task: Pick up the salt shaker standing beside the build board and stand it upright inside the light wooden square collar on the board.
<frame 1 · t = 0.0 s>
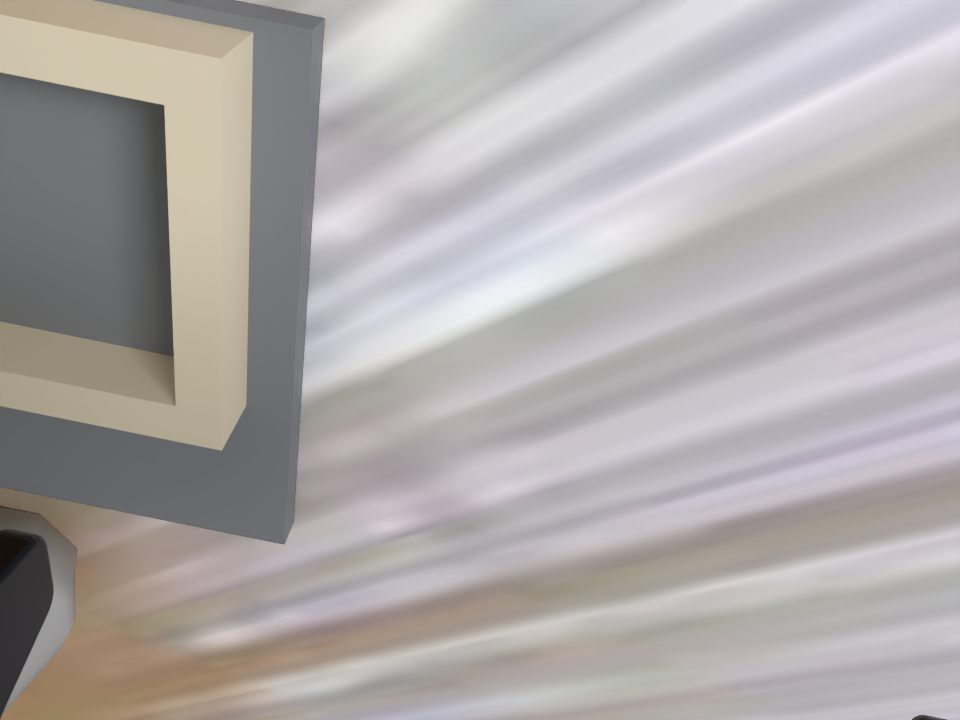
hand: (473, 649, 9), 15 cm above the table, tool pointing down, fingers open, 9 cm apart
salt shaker: (24, 544, 32), on the table
build board: (73, 269, 25), on the table
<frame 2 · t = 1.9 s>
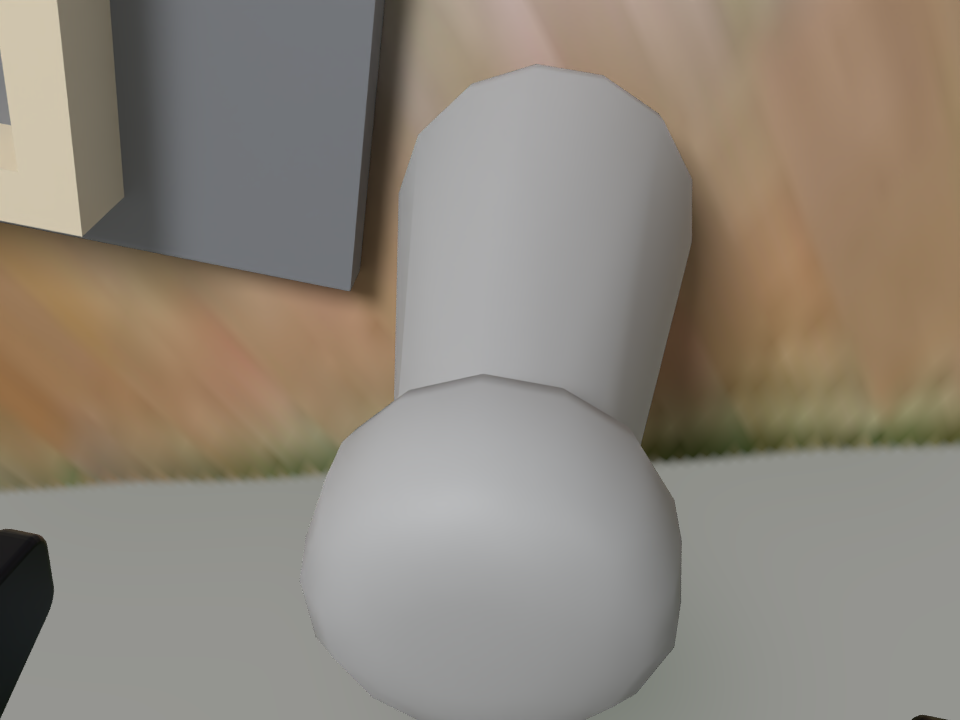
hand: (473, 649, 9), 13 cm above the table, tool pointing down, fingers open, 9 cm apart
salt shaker: (551, 165, 20), on the table
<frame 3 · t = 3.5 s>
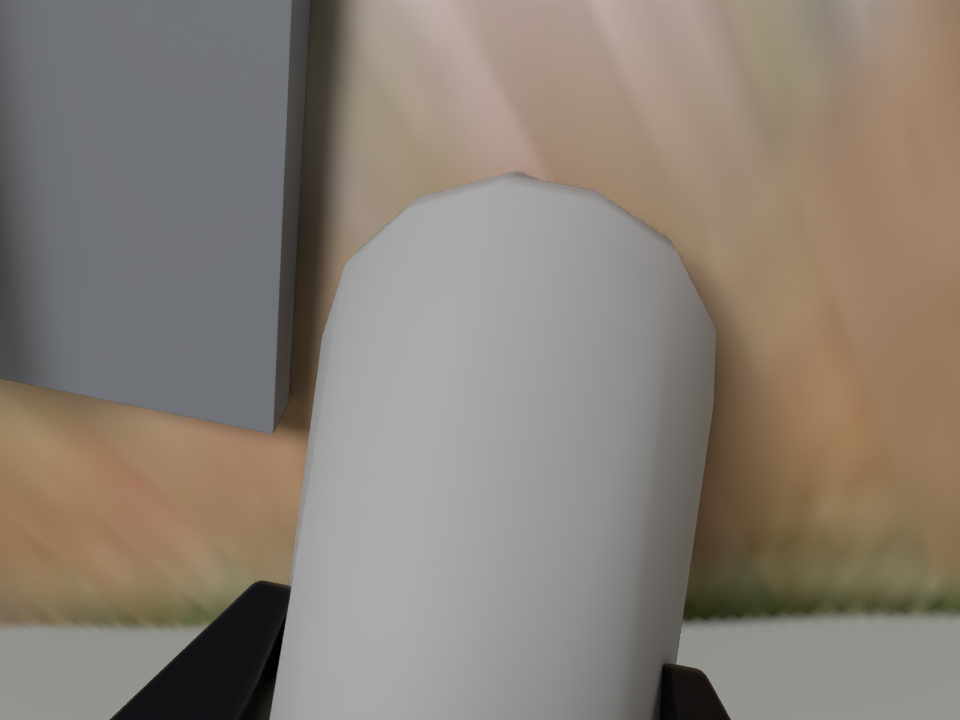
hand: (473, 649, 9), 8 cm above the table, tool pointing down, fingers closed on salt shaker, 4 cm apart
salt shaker: (528, 282, 16), on the table, touching gripper
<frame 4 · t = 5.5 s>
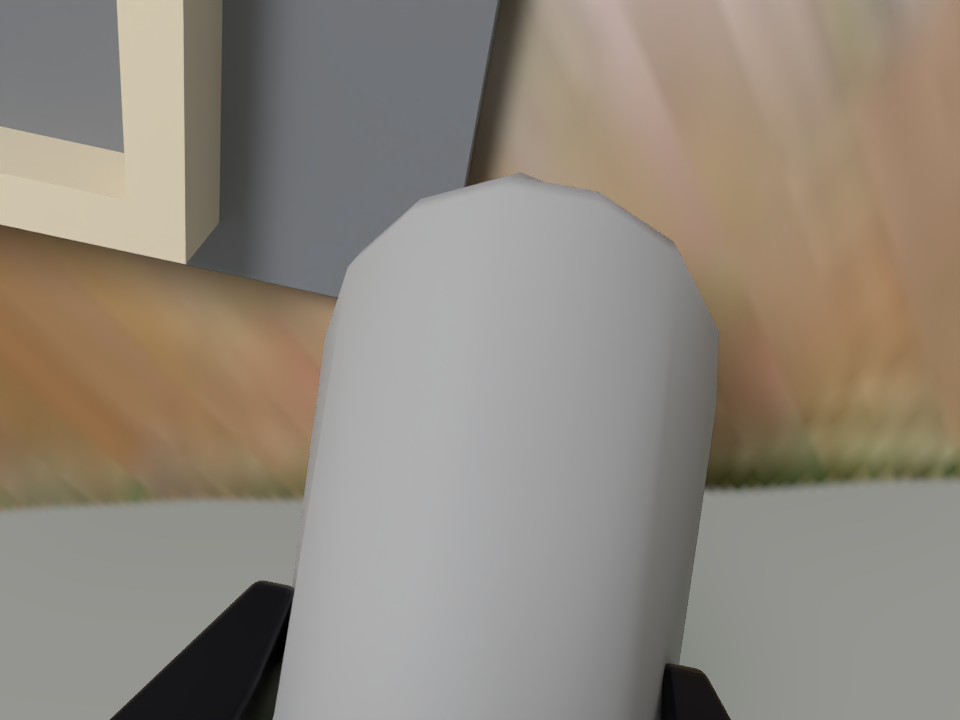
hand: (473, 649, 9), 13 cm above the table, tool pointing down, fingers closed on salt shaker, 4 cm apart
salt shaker: (531, 283, 16), point 5 cm above the table, touching gripper
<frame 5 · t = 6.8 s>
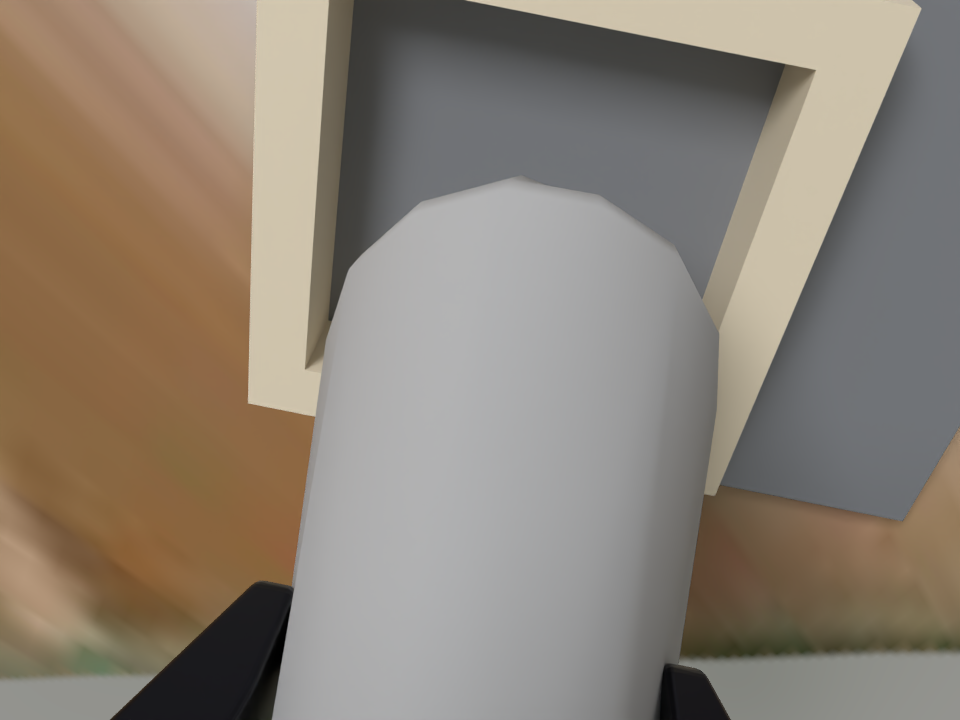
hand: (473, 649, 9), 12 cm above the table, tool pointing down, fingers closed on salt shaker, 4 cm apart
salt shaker: (532, 285, 16), point 5 cm above the table, touching gripper
build board: (651, 199, 20), on the table
when the fingers open (9 cm above the table, at t = 7.6 s): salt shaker stays where it is, resting on build board.
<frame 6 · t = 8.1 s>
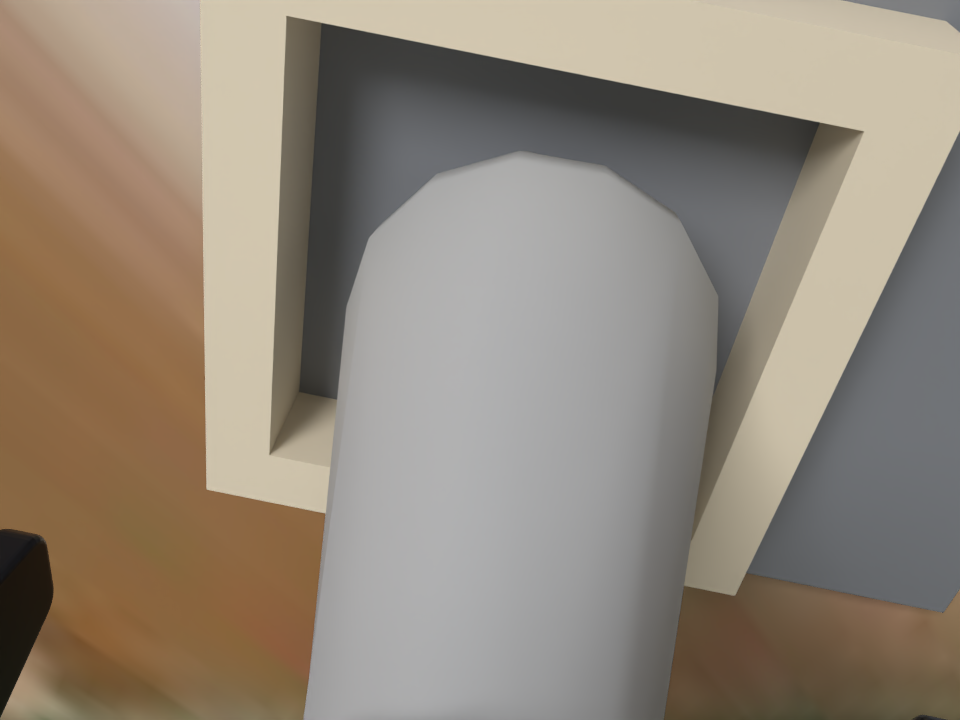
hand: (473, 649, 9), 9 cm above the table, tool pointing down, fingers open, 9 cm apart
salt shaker: (539, 258, 17), point 1 cm above the table, touching build board
build board: (663, 261, 17), on the table
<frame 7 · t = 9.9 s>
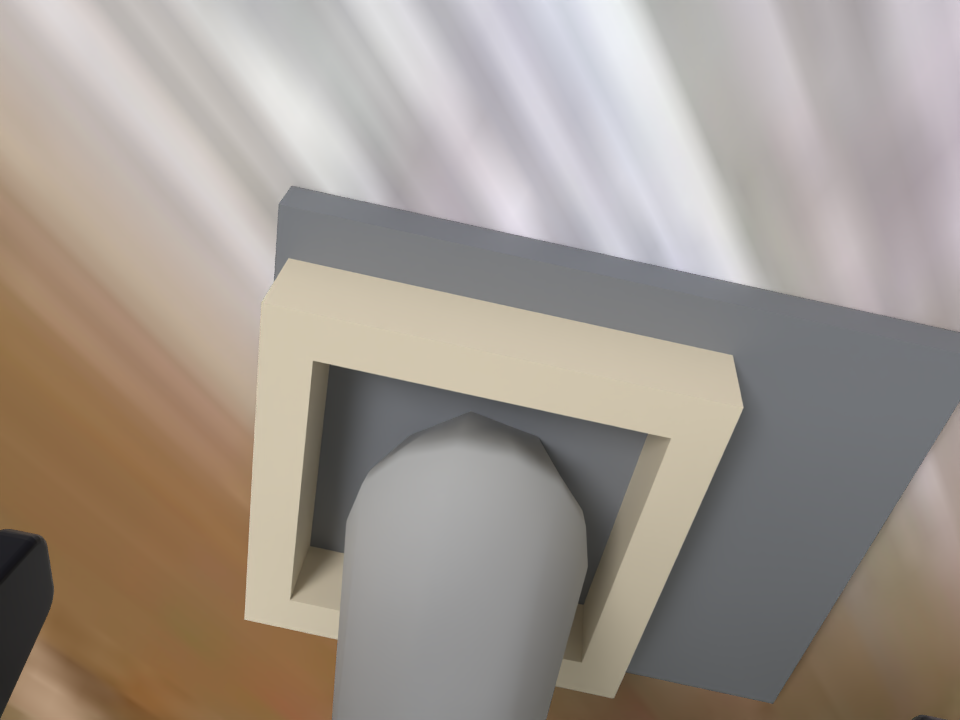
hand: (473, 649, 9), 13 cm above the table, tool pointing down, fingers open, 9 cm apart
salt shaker: (479, 470, 24), point 1 cm above the table, touching build board
build board: (566, 468, 25), on the table
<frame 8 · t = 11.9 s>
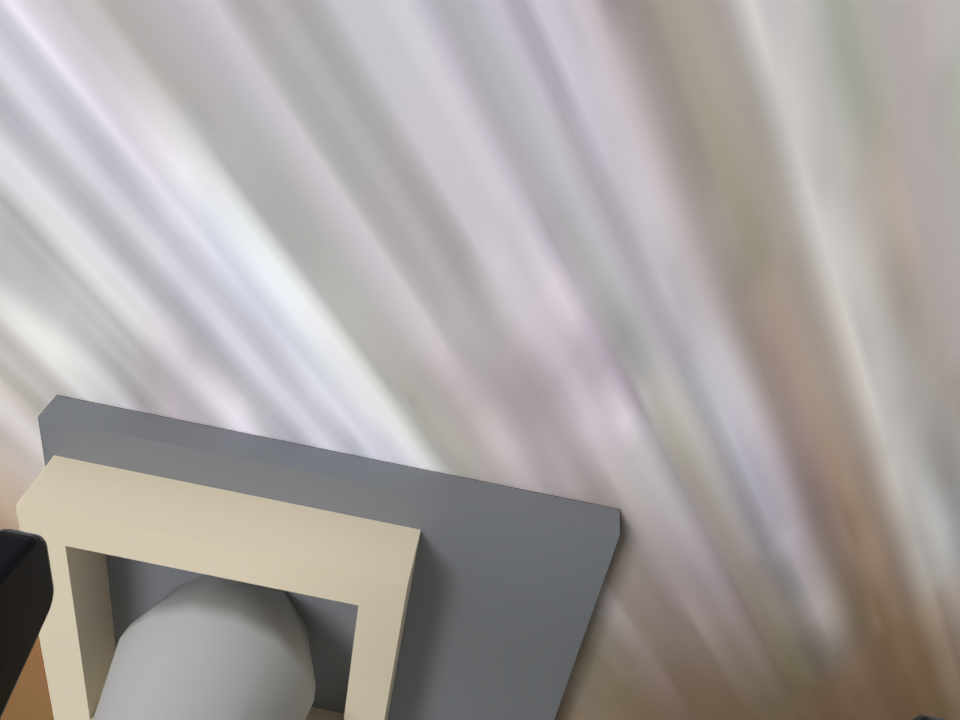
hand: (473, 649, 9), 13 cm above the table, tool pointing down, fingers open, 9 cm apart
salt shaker: (243, 610, 29), point 1 cm above the table, touching build board
build board: (322, 604, 29), on the table
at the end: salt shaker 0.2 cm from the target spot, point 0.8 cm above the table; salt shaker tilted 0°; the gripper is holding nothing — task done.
